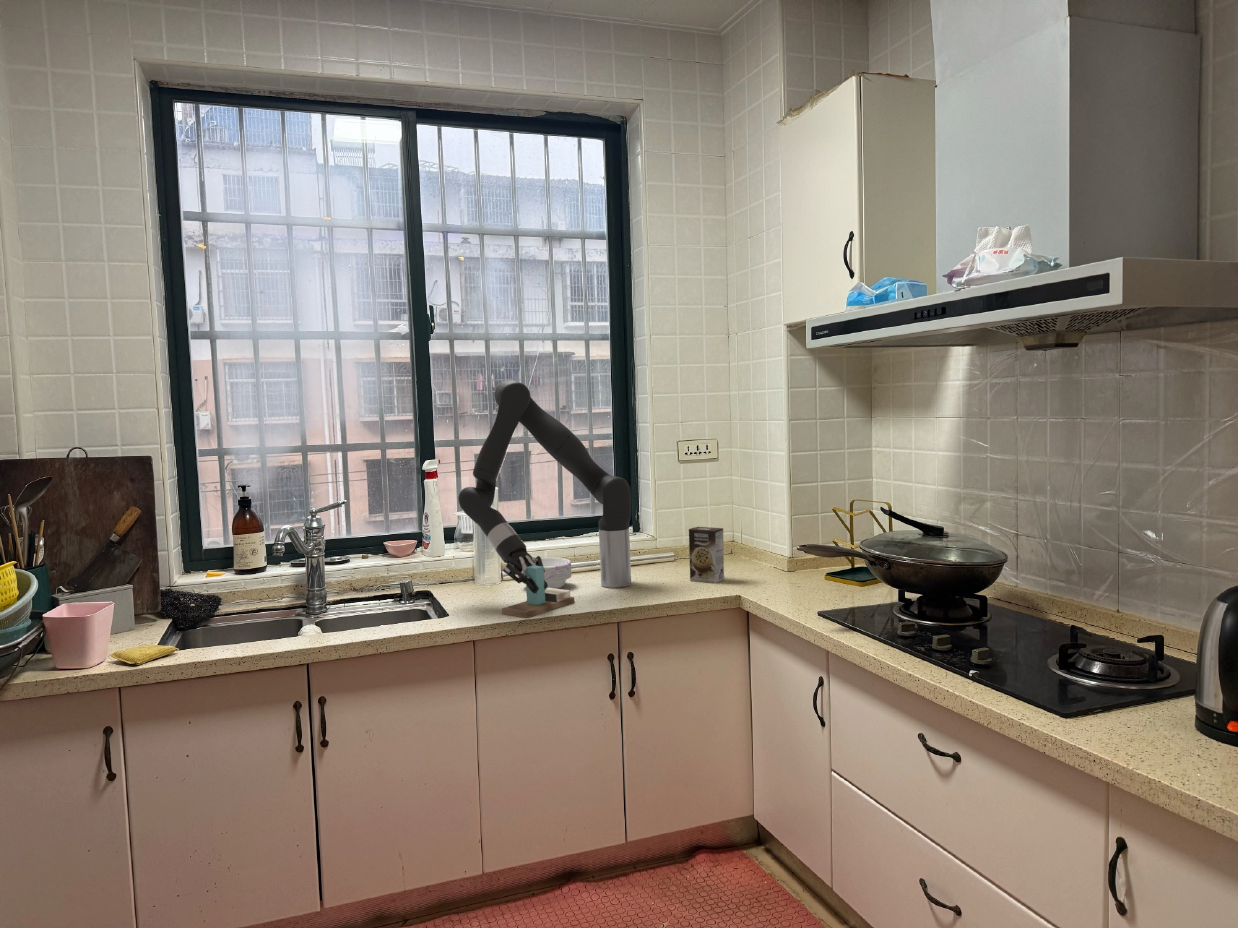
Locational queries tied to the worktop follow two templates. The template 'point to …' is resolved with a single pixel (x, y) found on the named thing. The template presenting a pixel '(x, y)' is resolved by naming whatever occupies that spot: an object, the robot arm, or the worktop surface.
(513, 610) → the stand
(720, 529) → the coffee box
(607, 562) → the robot arm
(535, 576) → the teal rectangular block
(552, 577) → the white and purple bowl
